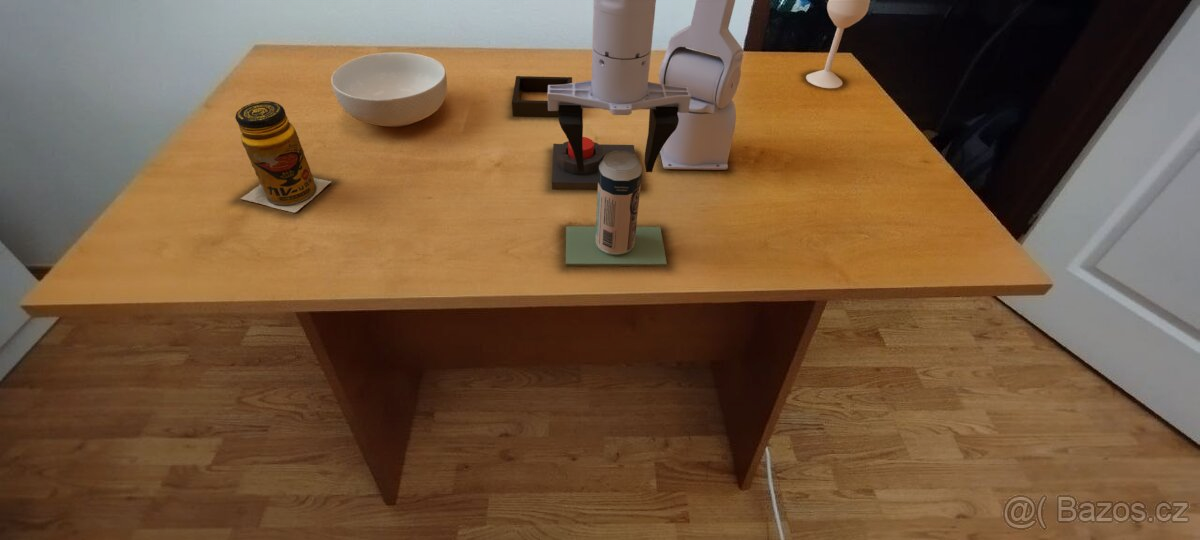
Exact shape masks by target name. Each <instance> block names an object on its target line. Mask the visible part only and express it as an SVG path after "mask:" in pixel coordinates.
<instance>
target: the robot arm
mask: <svg viewBox="0 0 1200 540" xmlns="http://www.w3.org/2000/svg"><path fill="white" fill-rule="evenodd" d="M656 3H657V0H593V3H592V5H593V6H592V44H591V45H592V47H591V48H592V49H591V78H590V79H591V80H584V81H576V82H572V83H570V84H562V85H548V92H547V101H548V111H558V110H559V117H558V123H559V126H560V128H561V130H562V131H563V133H564V135H565V136H566V139H567V141H569V143H570V145H571V147H572V150H573V153H574V156H575V159H576V164H577V171H578V172H583V171H584V160H583V143H582V139H583V137H584V136H583V135H584V134H583V133H584V120H583V118H584V117H583V114H584V112H583V111H584V109H598V110H599V109H601V110H607V111H609V112H610V114H611V115H614V116H631V114H632V112H633V111H637V110H649V115H648V117H649V118H648V131H647V139H646V145H645V151H644V158H643V159H644V169H645V173H652V172H653V170H654V166H655V164H656V161H657V159H658V157H659V154H660V158H661V159H660V160H661V164H662V168H663V169H664V170H703V171H705V170H706V171H707V170H708V171H709V170H710V171H713V170H714V171H715V170H716V171H727V170H728V168H729V165H728V161H729V158H730V157H729V156H730V152H731V147H732V143H733V138H734V135H735V129H736V123H737V121H736V119H737V112H736V105H735V102H734V100H733V99H734V97H735V96H736V92H737V90H738V87H739V84H740V80H741V73H742V69H741V68H742V63H743V58H744V50H743V48H742V46H741V45H740V43H739V42H738V41H737V39H736V38H735V37H734V35H733V34H732V32H731V31H730V29H729V28H730V23H731V19H732V15H733V10H734V8H735V3H736V0H695V5H694V9H693V13H692V14H693V15H692V18H691V22H690V25H688V26H686V27H684V28H682V29H681V30H678V31H677V32H676V33H674V34H673V35H672V36H671V37H670V39H669V41H668V45H667V48H666V51H665V54H664V56H663V58H662V61H661V64H660V67H659V73H658V83H657V82H651V81H649V78H650V77H649V76H650V67H651V55H652V47H653V46H652V45H653V36H654V27H655V25H654V24H655V15H656V6H657V5H656Z"/></svg>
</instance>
